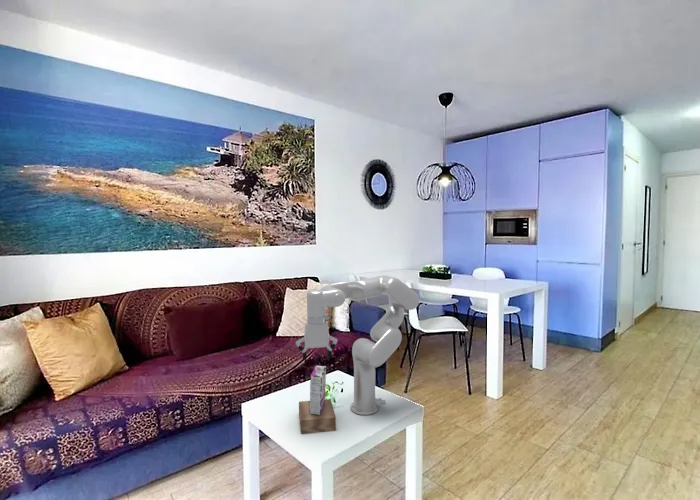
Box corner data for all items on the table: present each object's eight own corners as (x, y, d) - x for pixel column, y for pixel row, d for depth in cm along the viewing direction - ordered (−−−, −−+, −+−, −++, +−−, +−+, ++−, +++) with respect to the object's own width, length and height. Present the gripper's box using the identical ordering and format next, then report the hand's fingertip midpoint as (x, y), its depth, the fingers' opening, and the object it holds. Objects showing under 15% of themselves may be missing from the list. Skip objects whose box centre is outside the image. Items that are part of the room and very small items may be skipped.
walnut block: (330, 412, 165) (330, 398, 165) (335, 431, 149) (335, 417, 149) (299, 415, 163) (298, 401, 162) (300, 435, 147) (300, 420, 147)
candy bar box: (313, 401, 162) (315, 364, 161) (325, 402, 161) (326, 365, 160) (308, 414, 151) (310, 375, 149) (320, 415, 150) (322, 376, 149)
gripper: (336, 316, 158) (336, 355, 160) (295, 318, 156) (295, 358, 157) (338, 321, 151) (338, 362, 152) (295, 323, 148) (296, 365, 150)
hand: (317, 360), depth 155 cm, fingers open, 9 cm apart
